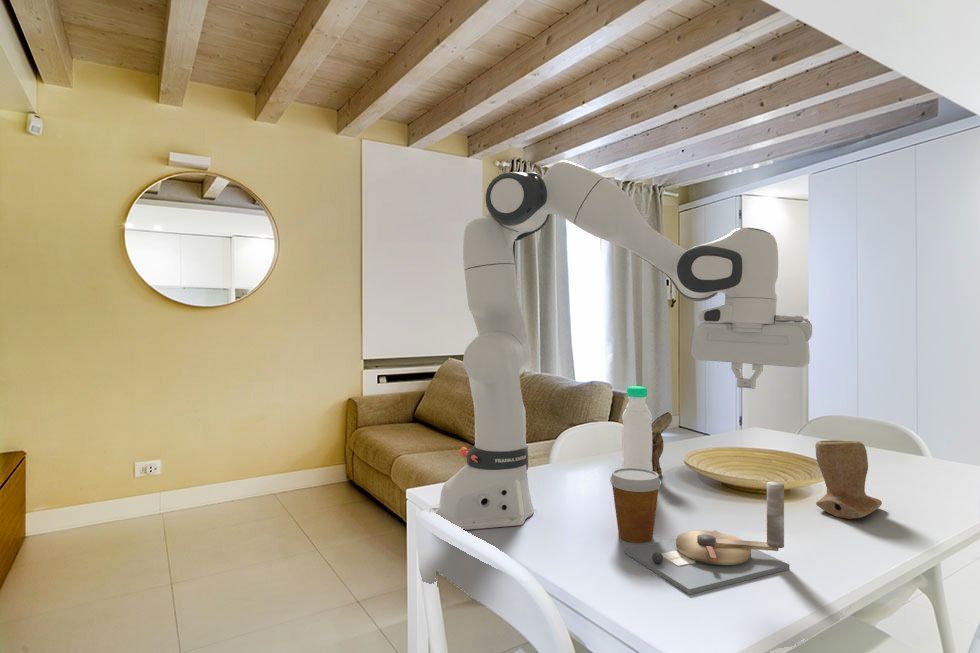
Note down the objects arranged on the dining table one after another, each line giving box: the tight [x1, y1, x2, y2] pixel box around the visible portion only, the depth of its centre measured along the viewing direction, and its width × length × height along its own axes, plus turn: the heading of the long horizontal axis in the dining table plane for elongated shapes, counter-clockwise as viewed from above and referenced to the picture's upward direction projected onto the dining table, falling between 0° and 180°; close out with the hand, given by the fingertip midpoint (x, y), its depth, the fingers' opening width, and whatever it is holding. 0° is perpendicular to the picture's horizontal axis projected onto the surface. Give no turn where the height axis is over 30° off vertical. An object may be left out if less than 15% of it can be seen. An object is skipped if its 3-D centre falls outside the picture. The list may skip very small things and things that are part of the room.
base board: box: [624, 529, 790, 595], centre depth 94 cm, size 21×16×3 cm
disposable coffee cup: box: [609, 467, 662, 543], centre depth 105 cm, size 10×10×12 cm
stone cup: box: [815, 439, 883, 519], centre depth 119 cm, size 15×12×15 cm
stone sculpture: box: [651, 411, 673, 478], centre depth 145 cm, size 9×14×18 cm, turn 27°
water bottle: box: [621, 385, 653, 471], centre depth 133 cm, size 7×7×25 cm
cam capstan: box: [675, 481, 785, 565], centre depth 94 cm, size 17×13×12 cm
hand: (746, 388), depth 104 cm, fingers closed
